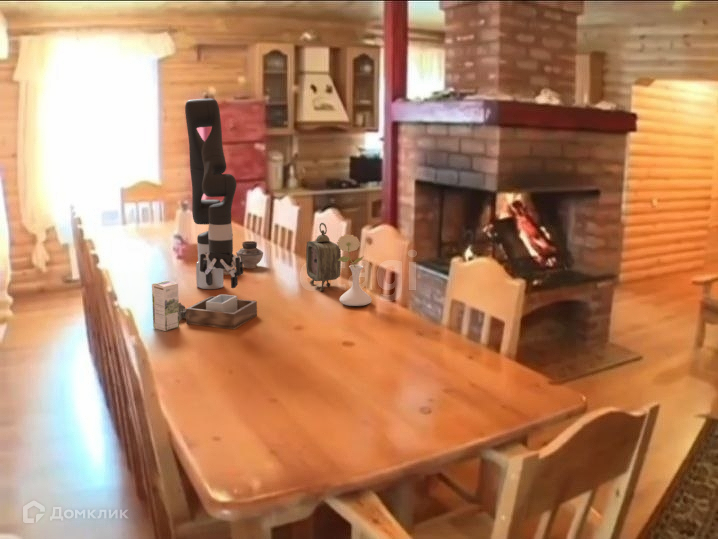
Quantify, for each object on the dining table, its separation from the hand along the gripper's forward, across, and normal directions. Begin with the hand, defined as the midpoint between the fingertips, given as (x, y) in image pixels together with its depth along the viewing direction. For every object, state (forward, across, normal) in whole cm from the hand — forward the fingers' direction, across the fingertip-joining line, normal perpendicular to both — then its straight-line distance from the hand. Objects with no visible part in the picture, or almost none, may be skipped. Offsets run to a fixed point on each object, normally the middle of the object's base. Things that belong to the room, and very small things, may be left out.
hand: (221, 286), depth 238 cm
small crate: (+10, 0, 0) cm, 10 cm away
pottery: (+12, -27, +65) cm, 71 cm away
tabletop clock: (+12, +16, +51) cm, 54 cm away
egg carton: (+12, -15, -5) cm, 20 cm away
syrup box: (+11, -12, -14) cm, 22 cm away
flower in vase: (+12, +34, +33) cm, 49 cm away
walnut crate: (+11, 0, 0) cm, 11 cm away
